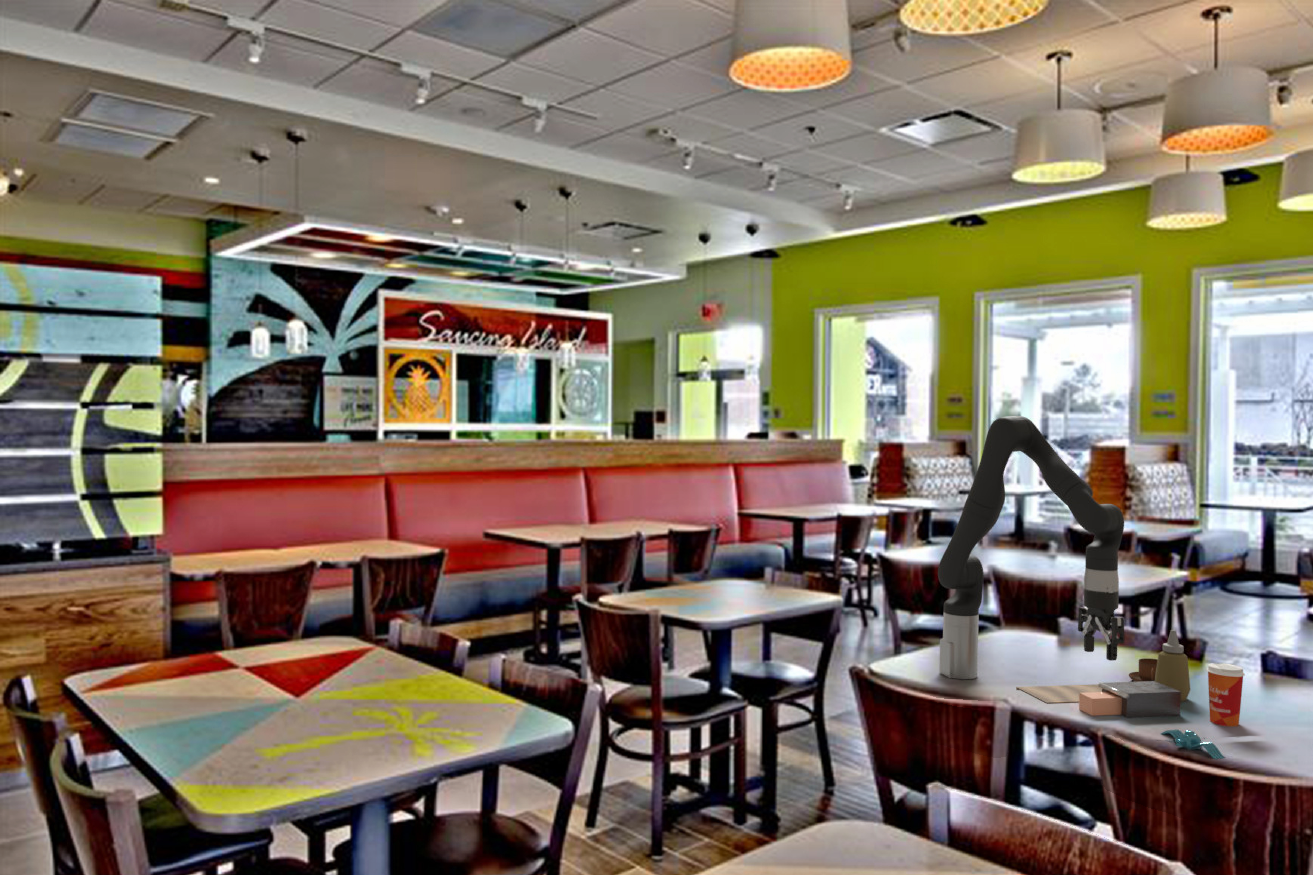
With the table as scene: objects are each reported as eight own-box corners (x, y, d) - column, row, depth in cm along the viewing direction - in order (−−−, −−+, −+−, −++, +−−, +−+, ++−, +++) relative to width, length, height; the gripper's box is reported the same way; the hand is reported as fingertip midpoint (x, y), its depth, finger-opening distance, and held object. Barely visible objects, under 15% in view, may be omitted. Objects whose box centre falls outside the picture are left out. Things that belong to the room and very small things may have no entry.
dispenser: (1124, 722, 224) (1124, 693, 224) (1097, 709, 234) (1098, 682, 233) (1180, 719, 226) (1181, 691, 226) (1152, 707, 236) (1152, 680, 236)
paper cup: (1197, 721, 225) (1199, 662, 225) (1228, 721, 226) (1229, 662, 225) (1220, 732, 217) (1221, 670, 217) (1251, 731, 218) (1253, 670, 218)
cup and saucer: (1185, 691, 251) (1185, 668, 251) (1135, 688, 254) (1136, 665, 254) (1170, 680, 263) (1170, 657, 263) (1123, 677, 265) (1123, 655, 265)
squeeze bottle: (1194, 707, 237) (1196, 634, 236) (1159, 704, 238) (1161, 632, 238) (1183, 698, 245) (1185, 628, 244) (1149, 695, 246) (1151, 626, 246)
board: (1046, 707, 235) (1047, 702, 235) (1016, 691, 248) (1016, 686, 248) (1142, 703, 239) (1142, 699, 239) (1106, 688, 253) (1107, 683, 253)
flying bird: (1147, 739, 212) (1147, 722, 212) (1170, 736, 215) (1171, 719, 215) (1206, 762, 198) (1207, 743, 198) (1231, 758, 201) (1231, 740, 201)
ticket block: (1091, 715, 225) (1092, 698, 225) (1079, 709, 230) (1079, 692, 230) (1160, 712, 228) (1160, 696, 228) (1146, 706, 233) (1146, 690, 233)
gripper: (1069, 583, 234) (1068, 649, 234) (1105, 593, 220) (1104, 663, 220) (1096, 582, 236) (1095, 648, 236) (1135, 592, 221) (1134, 662, 222)
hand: (1100, 655), depth 228 cm, fingers open, 8 cm apart
